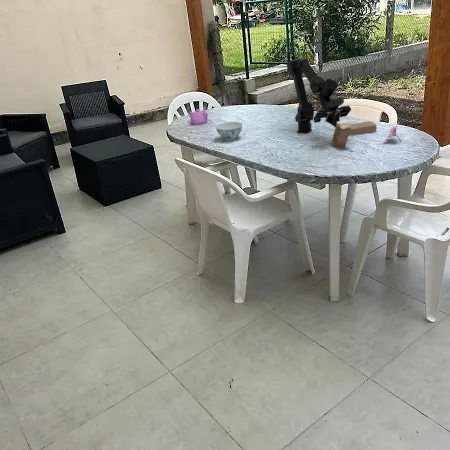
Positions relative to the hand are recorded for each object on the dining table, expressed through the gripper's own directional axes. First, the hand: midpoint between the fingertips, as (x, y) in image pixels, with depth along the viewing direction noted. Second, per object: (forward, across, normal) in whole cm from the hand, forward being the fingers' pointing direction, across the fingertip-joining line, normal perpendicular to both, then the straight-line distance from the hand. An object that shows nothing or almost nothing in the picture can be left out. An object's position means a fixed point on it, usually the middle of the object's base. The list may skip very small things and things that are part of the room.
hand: (339, 128), depth 218 cm
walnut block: (+5, 0, +6) cm, 8 cm away
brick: (-2, +21, +16) cm, 26 cm away
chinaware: (-29, -39, +41) cm, 64 cm away
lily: (+14, +23, -1) cm, 27 cm away
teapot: (-64, -42, +76) cm, 107 cm away
